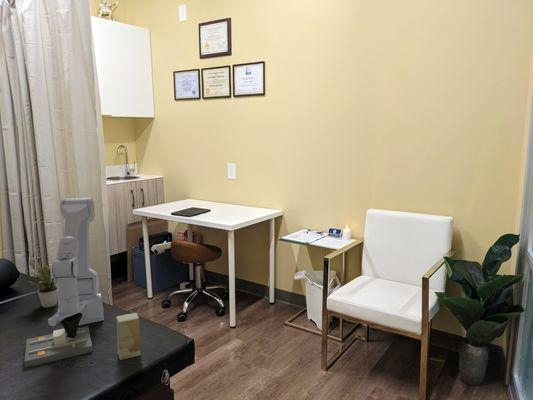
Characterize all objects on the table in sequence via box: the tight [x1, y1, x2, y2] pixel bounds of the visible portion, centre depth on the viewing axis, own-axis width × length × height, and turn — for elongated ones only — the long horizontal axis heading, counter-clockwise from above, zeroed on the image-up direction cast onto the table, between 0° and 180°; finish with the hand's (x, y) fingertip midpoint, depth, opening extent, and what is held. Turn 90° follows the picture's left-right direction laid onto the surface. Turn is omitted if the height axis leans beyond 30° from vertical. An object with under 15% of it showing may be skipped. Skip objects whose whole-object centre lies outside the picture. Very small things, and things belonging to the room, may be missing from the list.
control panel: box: [24, 325, 93, 369], centre depth 128 cm, size 18×14×3 cm
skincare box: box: [115, 312, 142, 361], centre depth 124 cm, size 6×4×12 cm
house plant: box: [27, 264, 58, 308], centre depth 159 cm, size 14×14×16 cm
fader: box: [52, 328, 66, 346], centre depth 128 cm, size 3×4×3 cm
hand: (72, 336), depth 130 cm, fingers closed
